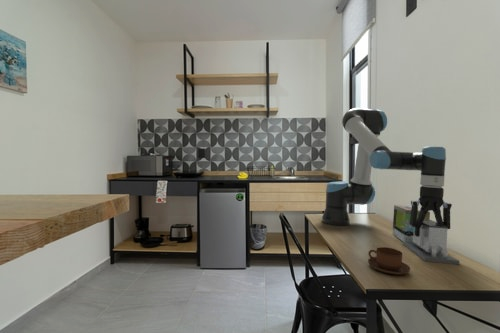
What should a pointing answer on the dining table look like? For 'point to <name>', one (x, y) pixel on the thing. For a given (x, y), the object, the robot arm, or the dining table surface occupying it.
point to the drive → (432, 236)
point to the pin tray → (431, 254)
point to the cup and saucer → (388, 261)
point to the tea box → (404, 222)
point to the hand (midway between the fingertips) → (428, 245)
